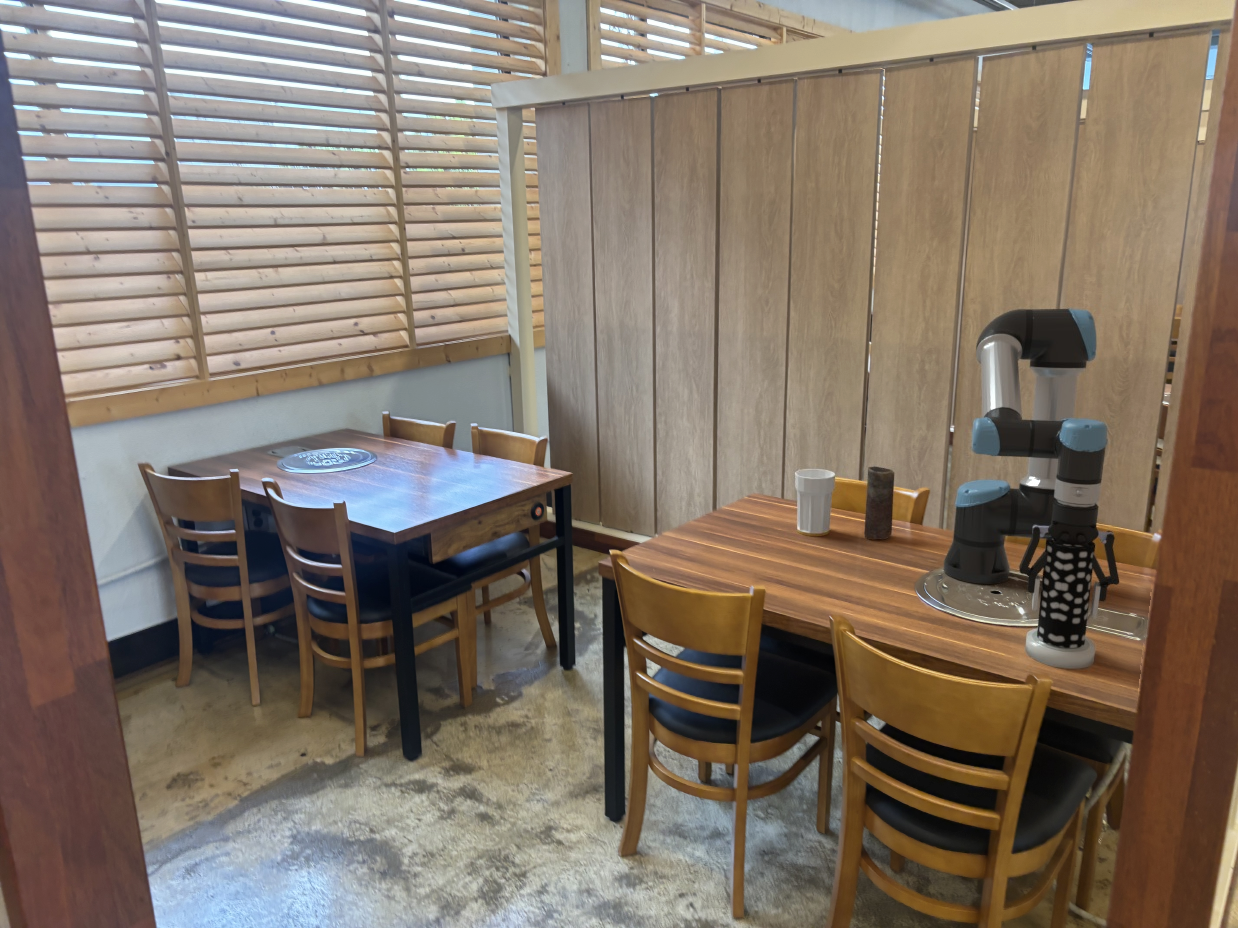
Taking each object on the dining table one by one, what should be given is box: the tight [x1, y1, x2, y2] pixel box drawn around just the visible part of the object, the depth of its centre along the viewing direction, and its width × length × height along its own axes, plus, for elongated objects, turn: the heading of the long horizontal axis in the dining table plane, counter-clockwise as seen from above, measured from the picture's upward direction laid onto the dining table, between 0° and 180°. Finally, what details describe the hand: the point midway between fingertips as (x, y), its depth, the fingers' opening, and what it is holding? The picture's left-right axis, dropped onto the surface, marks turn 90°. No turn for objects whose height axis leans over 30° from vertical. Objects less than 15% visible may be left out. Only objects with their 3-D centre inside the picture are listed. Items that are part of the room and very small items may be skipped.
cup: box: [794, 468, 836, 537], centre depth 238 cm, size 11×11×17 cm
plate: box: [1024, 627, 1096, 670], centre depth 163 cm, size 12×12×3 cm
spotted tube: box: [1037, 536, 1096, 648], centre depth 160 cm, size 8×8×20 cm
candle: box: [863, 466, 895, 541], centre depth 232 cm, size 8×7×20 cm
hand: (1063, 611), depth 161 cm, fingers open, 10 cm apart
